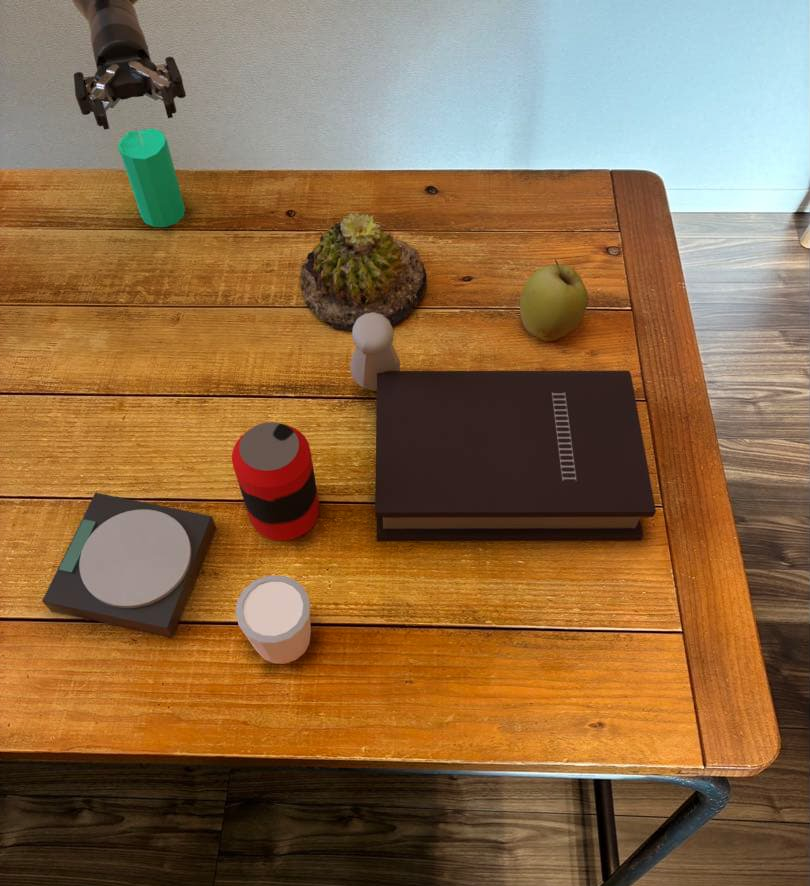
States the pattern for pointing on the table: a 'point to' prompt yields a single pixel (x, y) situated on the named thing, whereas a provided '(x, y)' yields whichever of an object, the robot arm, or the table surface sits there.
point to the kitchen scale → (131, 564)
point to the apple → (553, 302)
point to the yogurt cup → (275, 618)
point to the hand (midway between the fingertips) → (137, 117)
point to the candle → (152, 177)
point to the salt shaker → (372, 350)
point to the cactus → (361, 274)
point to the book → (509, 457)
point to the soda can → (277, 480)
